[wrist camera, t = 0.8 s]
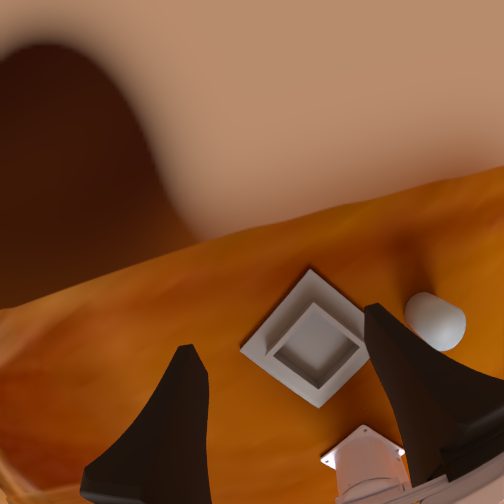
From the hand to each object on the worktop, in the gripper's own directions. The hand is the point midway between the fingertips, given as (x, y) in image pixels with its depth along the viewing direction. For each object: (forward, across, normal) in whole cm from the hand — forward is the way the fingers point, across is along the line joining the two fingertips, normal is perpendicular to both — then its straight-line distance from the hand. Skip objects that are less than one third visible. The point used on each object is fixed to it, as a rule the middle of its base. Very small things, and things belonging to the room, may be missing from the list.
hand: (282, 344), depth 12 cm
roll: (+14, -16, +16) cm, 26 cm away
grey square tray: (+15, -3, +17) cm, 23 cm away
